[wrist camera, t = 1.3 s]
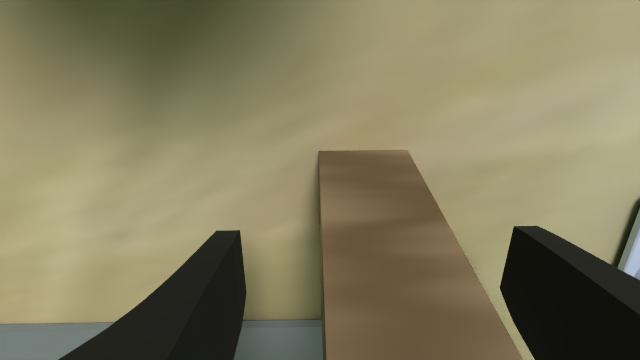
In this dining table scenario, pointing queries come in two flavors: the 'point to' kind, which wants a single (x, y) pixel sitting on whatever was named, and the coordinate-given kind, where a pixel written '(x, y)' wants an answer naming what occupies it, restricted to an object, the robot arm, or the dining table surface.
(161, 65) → the dining table surface
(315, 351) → the mat
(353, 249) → the block
